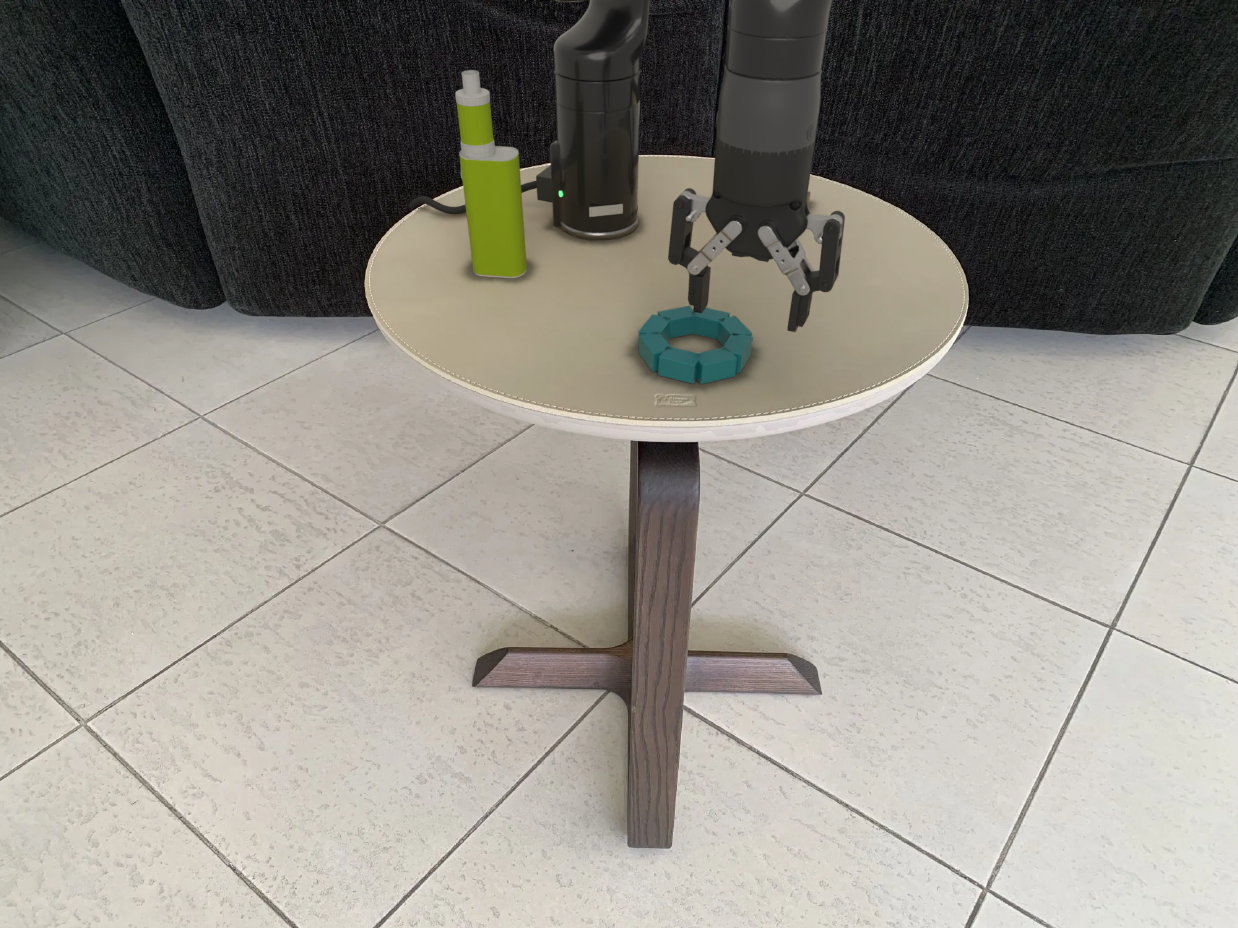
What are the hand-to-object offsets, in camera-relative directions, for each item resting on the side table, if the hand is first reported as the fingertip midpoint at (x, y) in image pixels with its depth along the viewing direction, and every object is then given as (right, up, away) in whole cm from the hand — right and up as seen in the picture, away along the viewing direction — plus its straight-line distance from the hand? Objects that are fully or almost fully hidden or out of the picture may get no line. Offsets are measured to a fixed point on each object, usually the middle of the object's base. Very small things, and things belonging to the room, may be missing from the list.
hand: (746, 318), depth 74 cm
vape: (-24, +8, +17) cm, 31 cm away
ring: (-4, -2, +4) cm, 7 cm away
